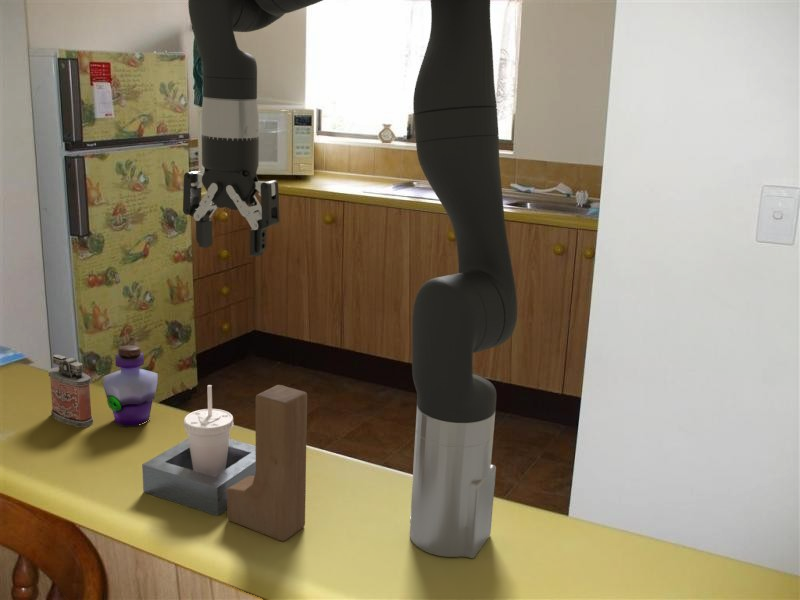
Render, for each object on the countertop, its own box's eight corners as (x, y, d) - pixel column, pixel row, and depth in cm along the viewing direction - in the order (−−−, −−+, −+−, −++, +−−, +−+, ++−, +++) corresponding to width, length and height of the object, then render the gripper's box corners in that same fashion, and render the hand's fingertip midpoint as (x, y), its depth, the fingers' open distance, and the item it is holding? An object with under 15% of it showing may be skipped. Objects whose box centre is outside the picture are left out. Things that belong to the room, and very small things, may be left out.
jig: (271, 476, 117) (271, 450, 116) (217, 516, 106) (217, 487, 105) (201, 456, 122) (201, 430, 120) (143, 492, 111) (142, 464, 110)
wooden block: (226, 520, 105) (224, 385, 100) (249, 505, 109) (249, 374, 104) (283, 543, 101) (285, 403, 96) (306, 526, 105) (308, 391, 100)
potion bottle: (93, 428, 129) (88, 354, 125) (117, 406, 137) (114, 336, 134) (147, 433, 128) (145, 359, 125) (169, 411, 136) (167, 340, 133)
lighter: (98, 422, 131) (95, 361, 128) (80, 429, 128) (76, 367, 126) (64, 409, 135) (60, 349, 132) (46, 415, 132) (41, 355, 130)
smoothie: (239, 475, 117) (239, 380, 113) (226, 498, 111) (224, 398, 107) (194, 471, 117) (192, 376, 113) (178, 493, 111) (175, 394, 107)
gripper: (290, 135, 114) (288, 253, 118) (203, 126, 119) (205, 239, 124) (259, 139, 107) (258, 264, 112) (168, 129, 112) (171, 248, 117)
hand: (230, 251), depth 118 cm, fingers open, 8 cm apart
